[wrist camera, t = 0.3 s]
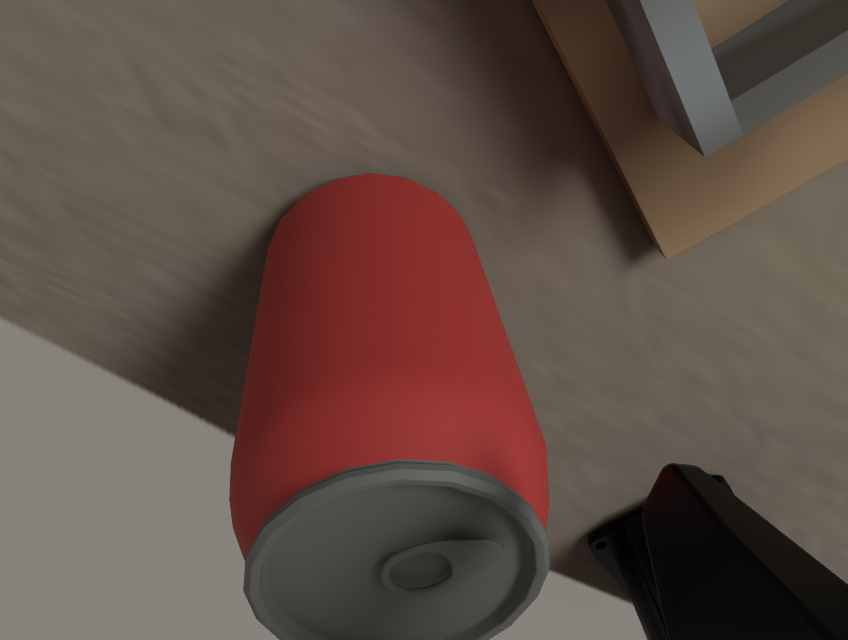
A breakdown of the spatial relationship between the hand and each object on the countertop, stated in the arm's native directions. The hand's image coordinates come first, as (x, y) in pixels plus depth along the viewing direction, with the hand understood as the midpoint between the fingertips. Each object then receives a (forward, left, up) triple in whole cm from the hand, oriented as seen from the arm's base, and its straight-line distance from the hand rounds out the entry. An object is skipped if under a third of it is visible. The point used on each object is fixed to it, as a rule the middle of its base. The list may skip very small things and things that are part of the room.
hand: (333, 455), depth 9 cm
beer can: (-4, +2, -14) cm, 14 cm away
